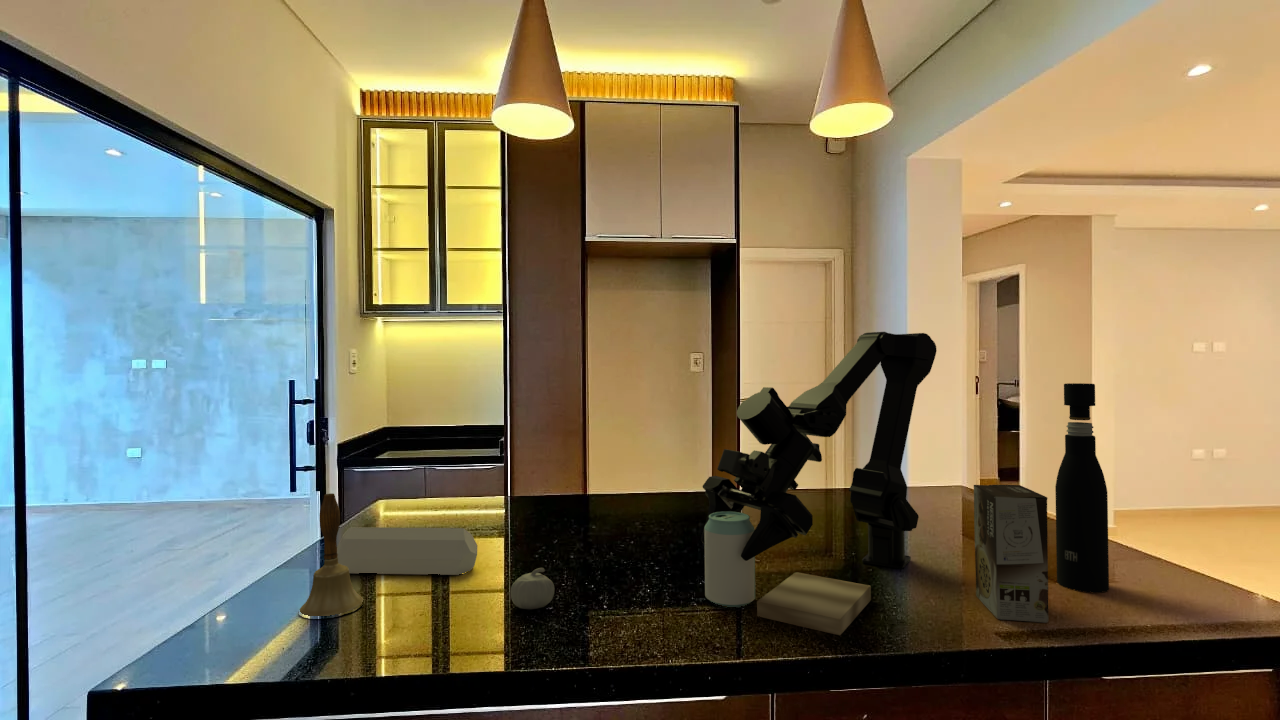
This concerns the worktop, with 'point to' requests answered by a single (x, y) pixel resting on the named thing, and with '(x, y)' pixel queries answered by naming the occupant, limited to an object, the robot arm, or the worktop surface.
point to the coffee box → (1011, 552)
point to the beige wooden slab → (815, 602)
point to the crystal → (407, 550)
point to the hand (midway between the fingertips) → (722, 550)
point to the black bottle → (1081, 501)
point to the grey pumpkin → (532, 590)
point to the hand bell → (331, 571)
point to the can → (728, 559)
